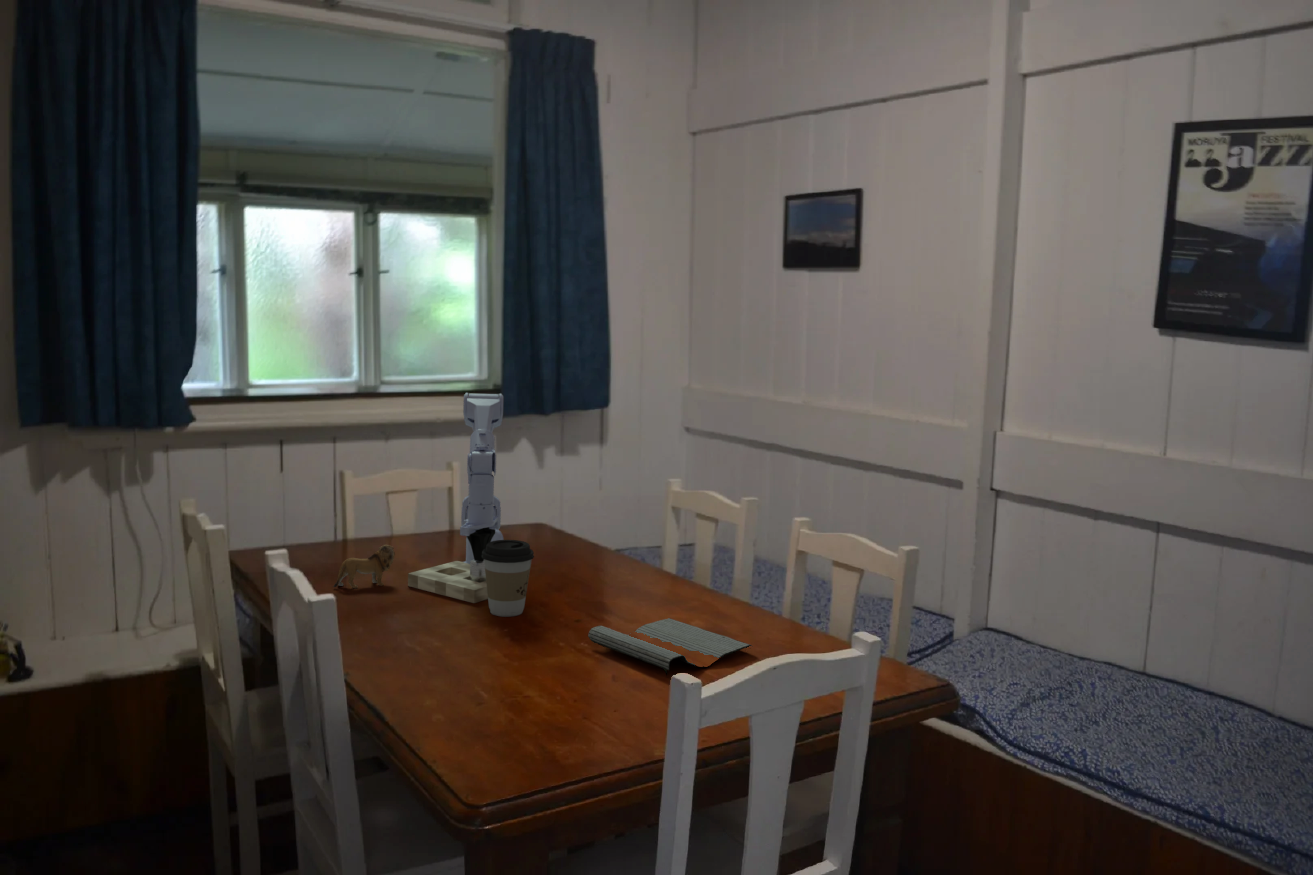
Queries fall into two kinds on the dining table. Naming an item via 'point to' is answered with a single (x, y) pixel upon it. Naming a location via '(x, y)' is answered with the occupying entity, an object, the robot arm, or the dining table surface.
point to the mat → (666, 632)
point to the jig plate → (449, 582)
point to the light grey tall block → (477, 571)
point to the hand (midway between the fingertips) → (479, 560)
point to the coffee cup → (507, 575)
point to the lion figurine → (367, 566)
